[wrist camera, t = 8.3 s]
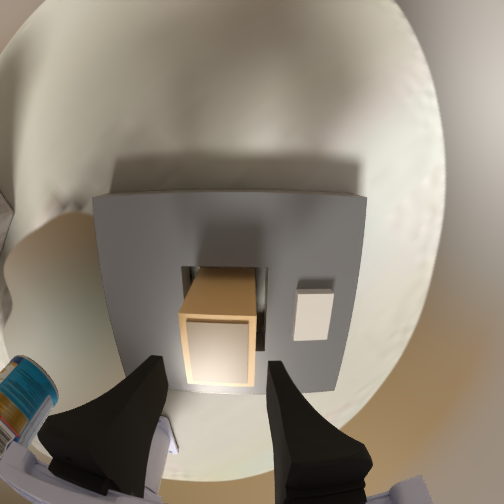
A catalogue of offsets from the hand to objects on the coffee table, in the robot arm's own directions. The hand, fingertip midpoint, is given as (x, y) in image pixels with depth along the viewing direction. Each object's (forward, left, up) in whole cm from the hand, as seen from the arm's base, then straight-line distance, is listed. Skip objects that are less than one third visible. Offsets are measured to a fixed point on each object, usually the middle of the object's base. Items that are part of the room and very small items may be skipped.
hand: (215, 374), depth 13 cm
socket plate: (0, 0, -9) cm, 9 cm away
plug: (0, 0, -9) cm, 9 cm away
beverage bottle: (-26, -14, -9) cm, 31 cm away
